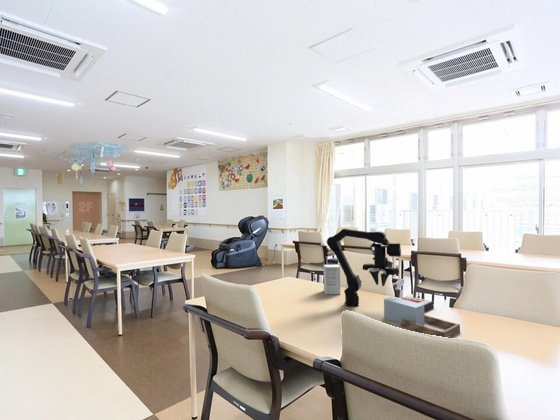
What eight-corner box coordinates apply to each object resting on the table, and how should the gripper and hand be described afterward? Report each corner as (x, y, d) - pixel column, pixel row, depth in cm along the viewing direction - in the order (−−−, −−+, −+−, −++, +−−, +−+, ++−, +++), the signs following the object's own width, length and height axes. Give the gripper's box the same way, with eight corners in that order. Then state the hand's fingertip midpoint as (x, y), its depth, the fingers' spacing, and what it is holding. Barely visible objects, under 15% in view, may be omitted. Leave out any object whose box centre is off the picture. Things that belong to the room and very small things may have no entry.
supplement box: (340, 294, 186) (340, 267, 186) (325, 294, 186) (325, 267, 186) (337, 290, 196) (337, 264, 196) (323, 290, 196) (323, 264, 196)
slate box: (384, 318, 146) (383, 299, 146) (392, 314, 150) (392, 296, 150) (416, 328, 133) (415, 307, 133) (424, 324, 137) (424, 304, 137)
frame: (401, 326, 135) (401, 319, 135) (417, 319, 143) (417, 312, 143) (443, 340, 120) (443, 332, 120) (460, 331, 129) (459, 324, 129)
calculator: (406, 295, 171) (433, 300, 159) (407, 303, 171) (434, 308, 159) (395, 299, 164) (423, 304, 153) (396, 307, 164) (423, 313, 152)
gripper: (405, 256, 157) (405, 286, 157) (374, 252, 172) (374, 279, 172) (392, 258, 150) (392, 290, 150) (361, 254, 165) (362, 283, 165)
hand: (380, 285), depth 160 cm, fingers open, 3 cm apart
